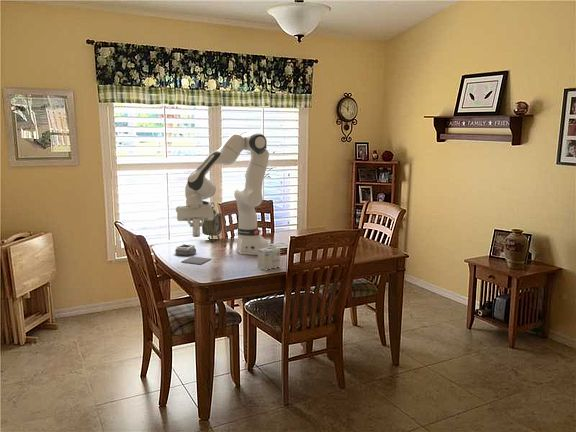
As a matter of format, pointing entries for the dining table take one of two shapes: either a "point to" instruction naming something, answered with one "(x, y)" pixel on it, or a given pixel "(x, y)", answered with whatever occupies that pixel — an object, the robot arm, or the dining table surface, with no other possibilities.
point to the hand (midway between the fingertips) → (196, 226)
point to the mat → (196, 260)
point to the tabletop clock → (213, 225)
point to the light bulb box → (268, 258)
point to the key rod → (196, 227)
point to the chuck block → (185, 250)
